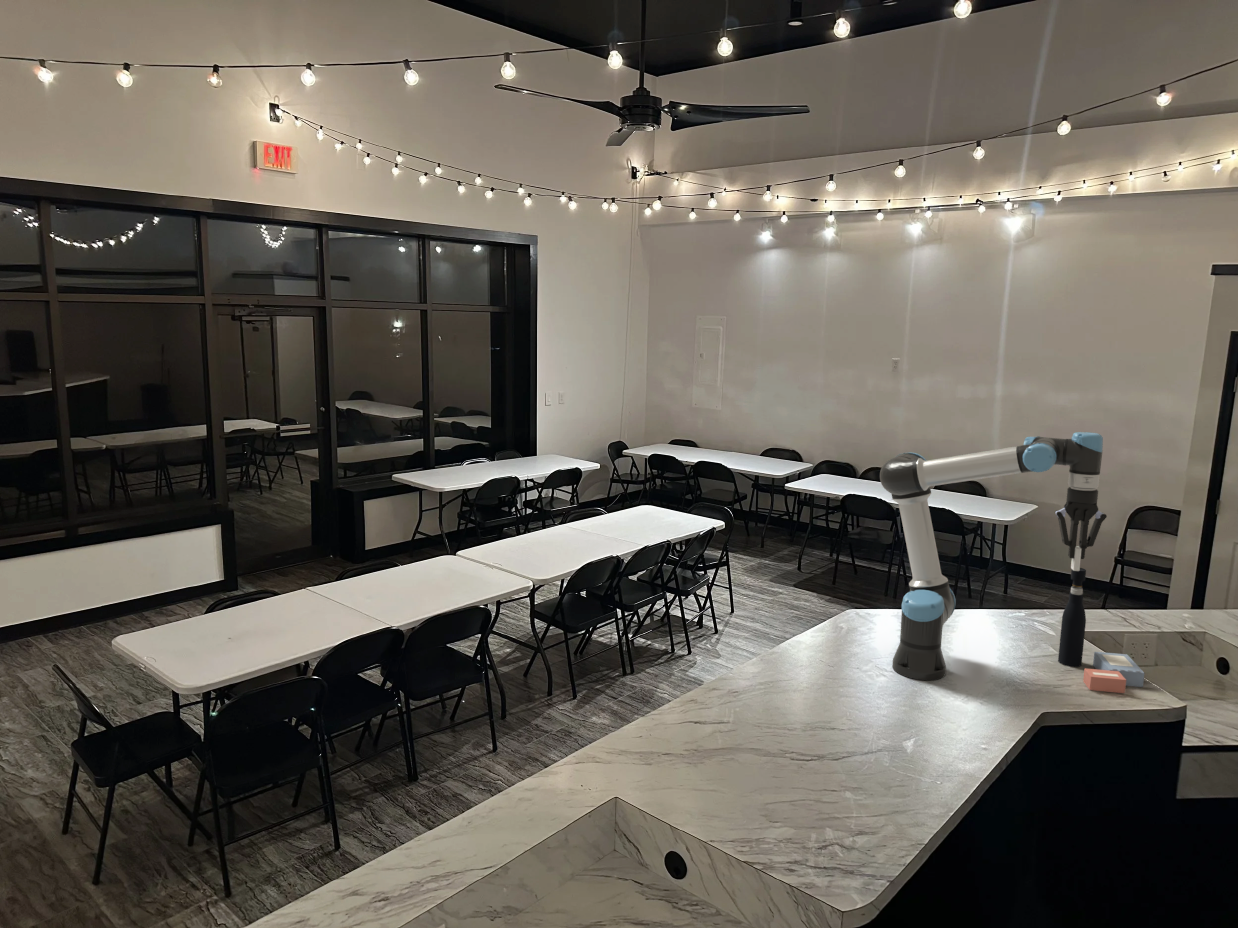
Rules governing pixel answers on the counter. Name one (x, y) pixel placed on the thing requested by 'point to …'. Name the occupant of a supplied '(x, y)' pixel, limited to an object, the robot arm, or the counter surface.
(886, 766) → the counter surface
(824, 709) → the counter surface
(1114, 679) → the red box
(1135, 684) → the blue labeled box
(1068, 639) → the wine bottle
